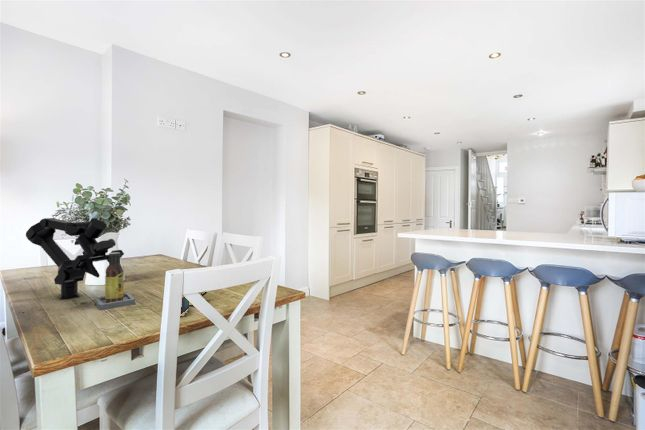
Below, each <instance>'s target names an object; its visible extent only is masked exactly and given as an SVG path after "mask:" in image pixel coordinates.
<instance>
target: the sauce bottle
mask: <svg viewBox="0 0 645 430" xmlns="http://www.w3.org/2000/svg"><path fill="white" fill-rule="evenodd" d="M108 255H109V262H108V265H107V267H106V269H105V275H104V276H105V277H104V278H105V281H104V282H105V284H104V285H105V286H104V287H105V289H104V291H105V292H104V293H105V295H104V297H105V298H106V302H107V303H110V302H116V301H122V300H123V296H124V291H125V290H124V285H125V284H124V283H125V282H124V281H125V280H124V279H125V278H124V275H125V274H124V269H123V267H122V264H121V258H120V256H121V255H120V253H119V252H115V253H111V252H108Z"/></svg>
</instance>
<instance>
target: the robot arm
mask: <svg viewBox="0 0 645 430" xmlns="http://www.w3.org/2000/svg"><path fill="white" fill-rule="evenodd" d="M107 227H108V226H107V224H106V223H105V222H104V221H102V220H99V219H98V218H97V217H94V218H93V217H92V218H91V219H90V220H89V222H88V221H78V222H77V221H76V222H72V221H68V220H63V219H57V218H55V217H53V218H52V217H50V218H48V217H47V218H42V219H40V221H39V222H37V223H35V224H33V225H31V226H30V227H29V228H28V230H27V231H26V233H25V237H26V239H27V240H28V241H29V242H30V243H32V244H33V245H35V246H39V247H41V248H42V250H43V251H44V252H45V253H46V254H47V255H48V257H49V258H50V260H52V262H54V264H55V265H56V266H57V275H56V276H55V278H54V280H53V281H54V285H58V286H59V285H60V294H58V295H59V300H65V299H72V298H77V297H78V298H79V297H80V293H79V290H78V288H79V287H78V286H79V282H83V281H84V278H85V275H86V273H87V274H89V275H91V276H93V277H95V278H100V273H99V272H98V270H97V268H96V267H95V266H94V262H95V263H97V262H103V261H107V262H108V263H109V254H107V253H109V250H110V249H113V248H114V247H115V246H116V245H117V243H116V241H115V240H114V238H109V239H107V240H100V241H97V239H99V238H100V237H101V235H103V234H104V231H105V230H106V229H107ZM56 230H57V231H63V232H64V233H65V234H66V235H68V236H70V237H76V238H75V241H74V245H75V246H80V248H81V249H82V254H79V255H77V256H76V257H75V258H74V259H71V258H69V256H68V255H67V254H66V253H65V252H64V250H63V249H62V248H61V247H60V245H58V243H57V242H56V241H55V240H54V235H55V233H56ZM77 236H78V237H77ZM115 252H119V253H120V255H121V256H120V259H121V258H122V257H123V256H124V255H125V252H123V250H122V249H117V250H116V249H115V250H111V251H110V253H115Z"/></svg>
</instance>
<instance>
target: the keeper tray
mask: <svg viewBox="0 0 645 430" xmlns="http://www.w3.org/2000/svg"><path fill="white" fill-rule="evenodd" d="M94 304H95V305H96V307H97V308H98V310H99V311H104V310H109V309H113V308H120V307H121V308H122V307H125V306H132V305H136V299H135V297H133V295H132V294H131V293H130V292H125V293H124V296H123V300H122V301H116V302H110V303H107V302H106V298H105V296H100V297H95V300H94Z"/></svg>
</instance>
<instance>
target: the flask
mask: <svg viewBox="0 0 645 430" xmlns="http://www.w3.org/2000/svg"><path fill="white" fill-rule="evenodd" d="M188 307H189V308H190V306H189V301H188V300H187V299H186V298H185V297H183V298H182V307H181V314H182V313H183V312H185V311H186V310H187V309H188Z"/></svg>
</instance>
